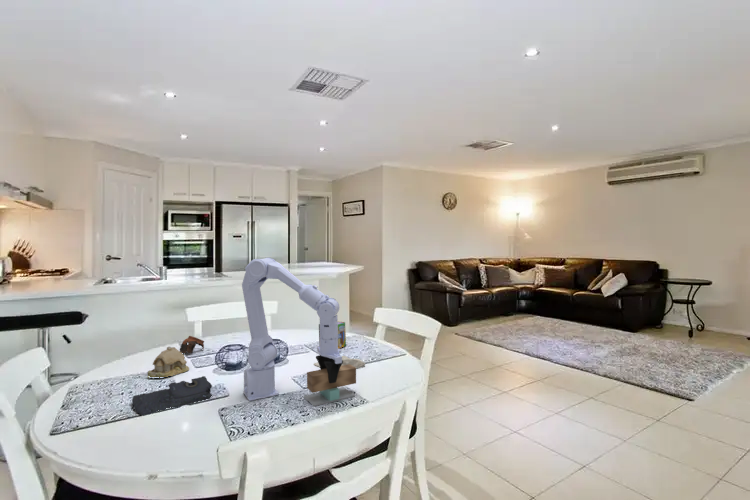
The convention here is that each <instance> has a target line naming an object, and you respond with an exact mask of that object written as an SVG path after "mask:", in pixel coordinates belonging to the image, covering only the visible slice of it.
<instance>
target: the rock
mask: <svg viewBox="0 0 750 500" xmlns="http://www.w3.org/2000/svg"><path fill="white" fill-rule="evenodd" d="M341 356H342V361H343V363H342V365H348V364H350V365H352V366H354V367H355V368H356V370H357V369H358V368H362V367H364V366H365V365H366V362H364V361H362V360H361V359H359V358H349V357H348V356H346V355H341ZM342 365H341V366H342ZM313 366H314V367H317V368H319V369H320V366H319V363H318V361H317V362H314V363H313Z"/></svg>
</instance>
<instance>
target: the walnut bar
mask: <svg viewBox="0 0 750 500" xmlns="http://www.w3.org/2000/svg"><path fill="white" fill-rule="evenodd" d="M354 384H357V369H356V368H355V367H354V366H352V365H350V364H348V365H342V366H341V367H340V369H339V372H338V376H337V380H336V382H335V383H329V380H328V372H327V368H326V369H316V370H312V371H307V372H306V388H307V390H309V391H310V392H311V394H315V393H319V392H320V391H323V390H328V389H332V388H341V387H345V386H350V385H354Z"/></svg>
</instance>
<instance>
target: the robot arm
mask: <svg viewBox="0 0 750 500" xmlns="http://www.w3.org/2000/svg"><path fill="white" fill-rule="evenodd" d="M244 271H245V273H244V276H243V280H242V283H241V288H242V293H243V300H244V305H245V310H246V315H247V320H248V327H249V332H250V338H251V340H250V343H249V345H248V355H247V362H248V365H249V366H250V367H248V368H246V369H244V371H243V394H244V396H245V397H246V398H247V400H248V401H255V400H261V399H264V398H265V399H266V398H269V397H273V396H279V394H280V392H278V390H277V389H276V387H275V386H276V384H275V383H276V382H275V381H276V379H275V377H276V375H275V372H276V371H275V370H276V369H275V368H276V367H275V365H276V364H275V359H276V357H277V356H278V349H277V348H278V347H277V346H276V345H275V344H274V340H273V339H274V338H272V336H271V335H269V330H268V325H267V319H266V315H265V309H264V303H263V297H262V291H261V287H262V286H263V285H264V284H265V282H266V281H267V280H269V279H270V280H279V281H280V282H282V283H284V284H285V285H286V286H287V287H289V288H290V289H292V290H293V291H295V292H297V293H298V297H299V300H301V301H303V302H304V303H305V304H306V305H308V307H310V308H312V309H313V310H314V311H316V314H317V315H318V317H319V324H320V346H318V345H317V347H316V348H317V349H316V351H317V354H318V353H319V355H316V356H315V359H316V361H317V362H318V363H319V366H320V368H319V370H321V369H326V368H327V372H328V380H329V383H335V382H336V380H337V376H338V372H339V369H340V367H341V365H342V363H343V361H342V356H343V355H341V353H342V349H341V348H340V349H338V322H337V321H338V312H339V311H340V304H339V302H338V301H337V300H336V298H333V297H330V296H329V294H325V293H324V292H322V291H321V290H319V287H318V286H317V285H316V284H305V283H304V282H303V281H302V280H300V279H299V278H298V277H297V276H295V275H294V274H293V273H292V272H290V271H289V270H288V269H287V268H286V267H284V266H283V265H282V263H280V262H278V261H276V259H274V258H272V257H265V258H254V259H252V260H250V262H249V263H248V264H247V265H246V266H245V268H244Z"/></svg>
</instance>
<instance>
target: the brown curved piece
mask: <svg viewBox="0 0 750 500" xmlns="http://www.w3.org/2000/svg"><path fill="white" fill-rule="evenodd" d="M204 343H205V341H204V340H203V339H200V338H198V337H196V336H195V337H194V336H193V335H189V336H188V337H187V338H186V339H184V340H183V341H182V343H181V345H180V349H179V351H180V352H181V353H186V354H187V353H188V354H192V353H193V352H194V349H195V347H196V345H198V346H200V347H201V348H202V349H203V350H204V348H205V345H204ZM202 349H201V350H202Z"/></svg>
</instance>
